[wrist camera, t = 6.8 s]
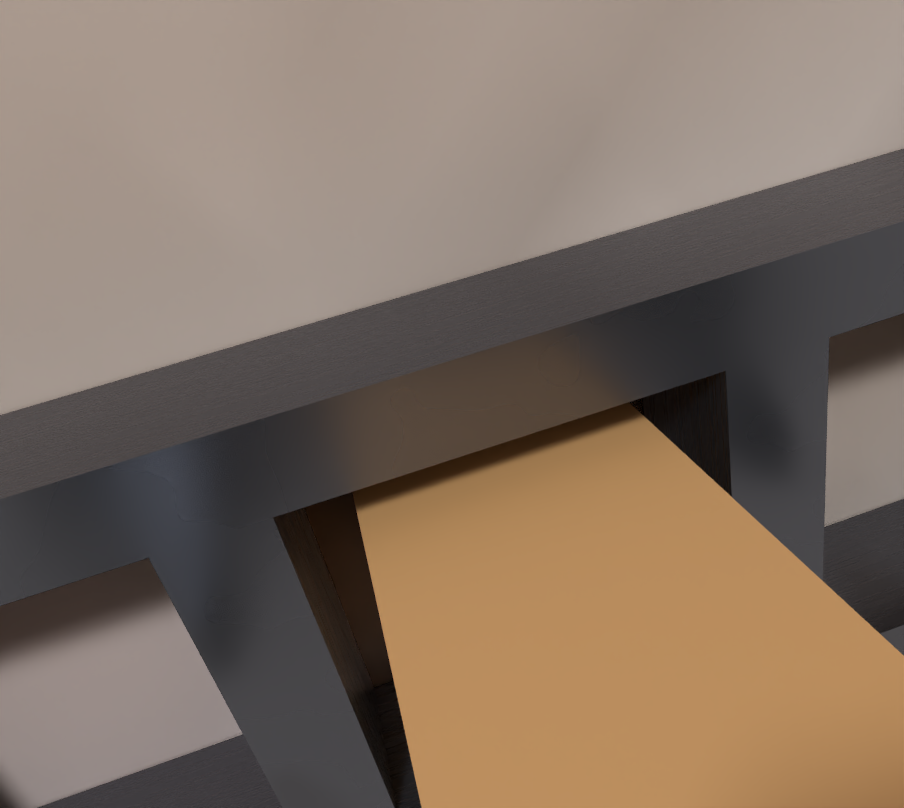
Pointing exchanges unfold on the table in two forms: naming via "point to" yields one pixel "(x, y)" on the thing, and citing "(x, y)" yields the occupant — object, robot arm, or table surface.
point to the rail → (450, 455)
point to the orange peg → (619, 636)
